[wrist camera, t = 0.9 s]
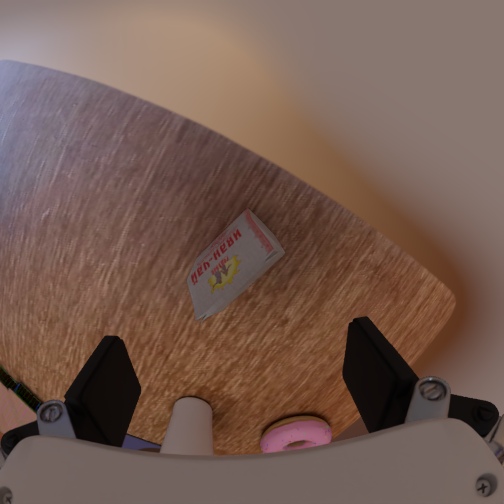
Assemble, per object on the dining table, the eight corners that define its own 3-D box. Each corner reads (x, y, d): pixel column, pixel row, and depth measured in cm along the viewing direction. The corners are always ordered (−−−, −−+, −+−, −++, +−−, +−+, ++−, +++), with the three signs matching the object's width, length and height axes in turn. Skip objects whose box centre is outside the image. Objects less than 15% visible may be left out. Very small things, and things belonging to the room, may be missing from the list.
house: (88, 436, 35) (75, 466, 27) (48, 456, 39) (39, 475, 32) (-1, 353, 29) (-24, 378, 21) (-14, 400, 34) (-27, 417, 26)
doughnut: (267, 409, 33) (271, 432, 29) (339, 409, 34) (347, 429, 30) (252, 447, 36) (254, 467, 32) (315, 447, 37) (320, 465, 33)
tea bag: (274, 235, 26) (297, 272, 16) (224, 282, 27) (219, 340, 17) (247, 207, 25) (254, 229, 15) (197, 256, 26) (176, 304, 16)
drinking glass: (225, 417, 33) (224, 509, 18) (182, 423, 33) (169, 508, 19) (206, 387, 31) (197, 490, 16) (160, 394, 31) (137, 488, 17)
